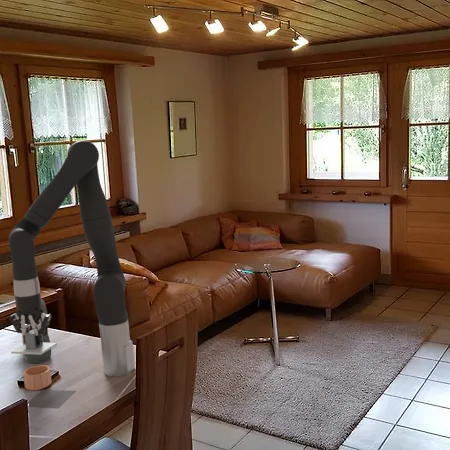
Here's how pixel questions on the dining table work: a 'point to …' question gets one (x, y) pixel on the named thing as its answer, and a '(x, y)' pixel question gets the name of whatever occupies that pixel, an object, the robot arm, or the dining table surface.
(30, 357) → the bottle
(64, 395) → the mat
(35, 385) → the bowl
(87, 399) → the dining table surface
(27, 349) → the block on square base
